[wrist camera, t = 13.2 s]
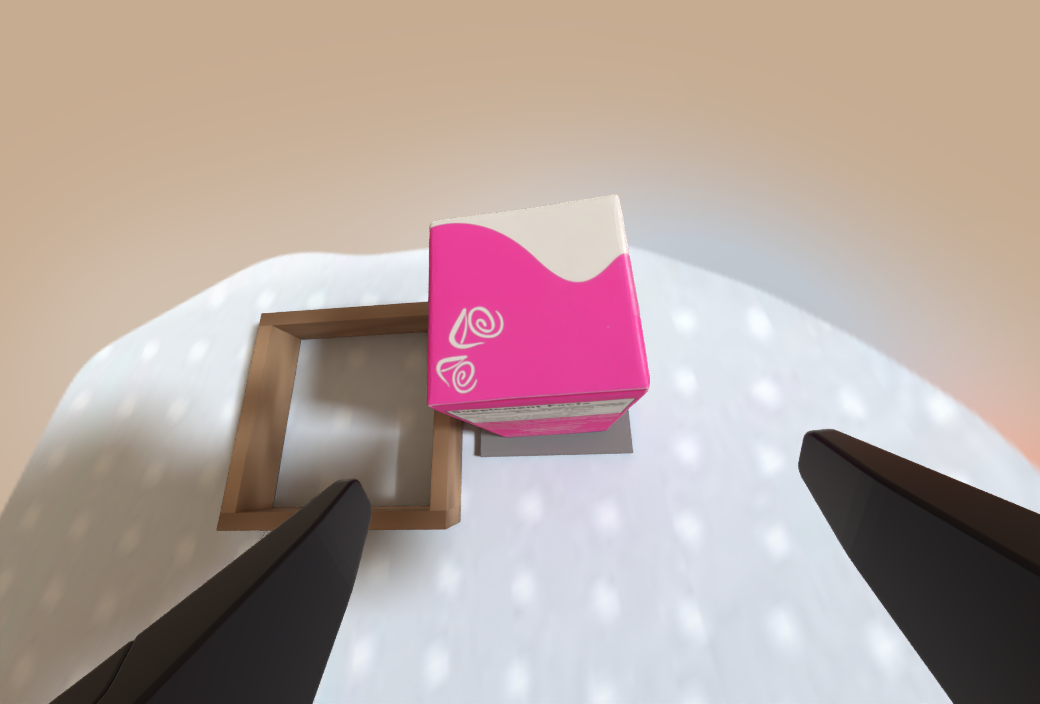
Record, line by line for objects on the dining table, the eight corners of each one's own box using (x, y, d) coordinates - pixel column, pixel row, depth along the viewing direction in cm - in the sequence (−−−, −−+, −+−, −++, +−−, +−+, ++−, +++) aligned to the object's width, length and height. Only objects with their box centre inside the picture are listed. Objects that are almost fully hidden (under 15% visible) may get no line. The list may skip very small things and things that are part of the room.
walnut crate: (460, 521, 19) (445, 529, 17) (256, 523, 20) (216, 530, 18) (465, 317, 23) (453, 299, 20) (291, 328, 24) (261, 313, 22)
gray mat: (631, 453, 19) (632, 452, 19) (482, 457, 20) (480, 456, 20) (616, 312, 22) (617, 310, 21) (483, 321, 22) (482, 319, 22)
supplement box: (495, 339, 22) (425, 211, 11) (597, 330, 21) (632, 185, 10) (498, 440, 20) (419, 408, 9) (609, 433, 19) (669, 389, 8)
